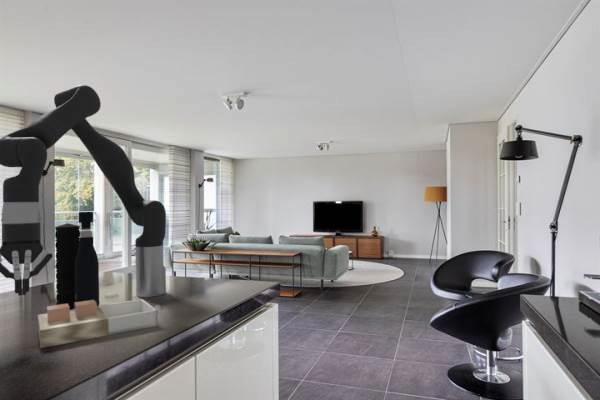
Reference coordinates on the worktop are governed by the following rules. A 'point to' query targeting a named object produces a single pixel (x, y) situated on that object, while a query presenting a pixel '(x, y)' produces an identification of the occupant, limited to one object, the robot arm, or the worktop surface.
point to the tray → (129, 316)
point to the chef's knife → (157, 308)
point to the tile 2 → (85, 308)
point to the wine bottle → (86, 263)
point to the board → (72, 328)
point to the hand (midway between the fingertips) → (22, 294)
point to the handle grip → (66, 262)
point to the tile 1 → (58, 313)
